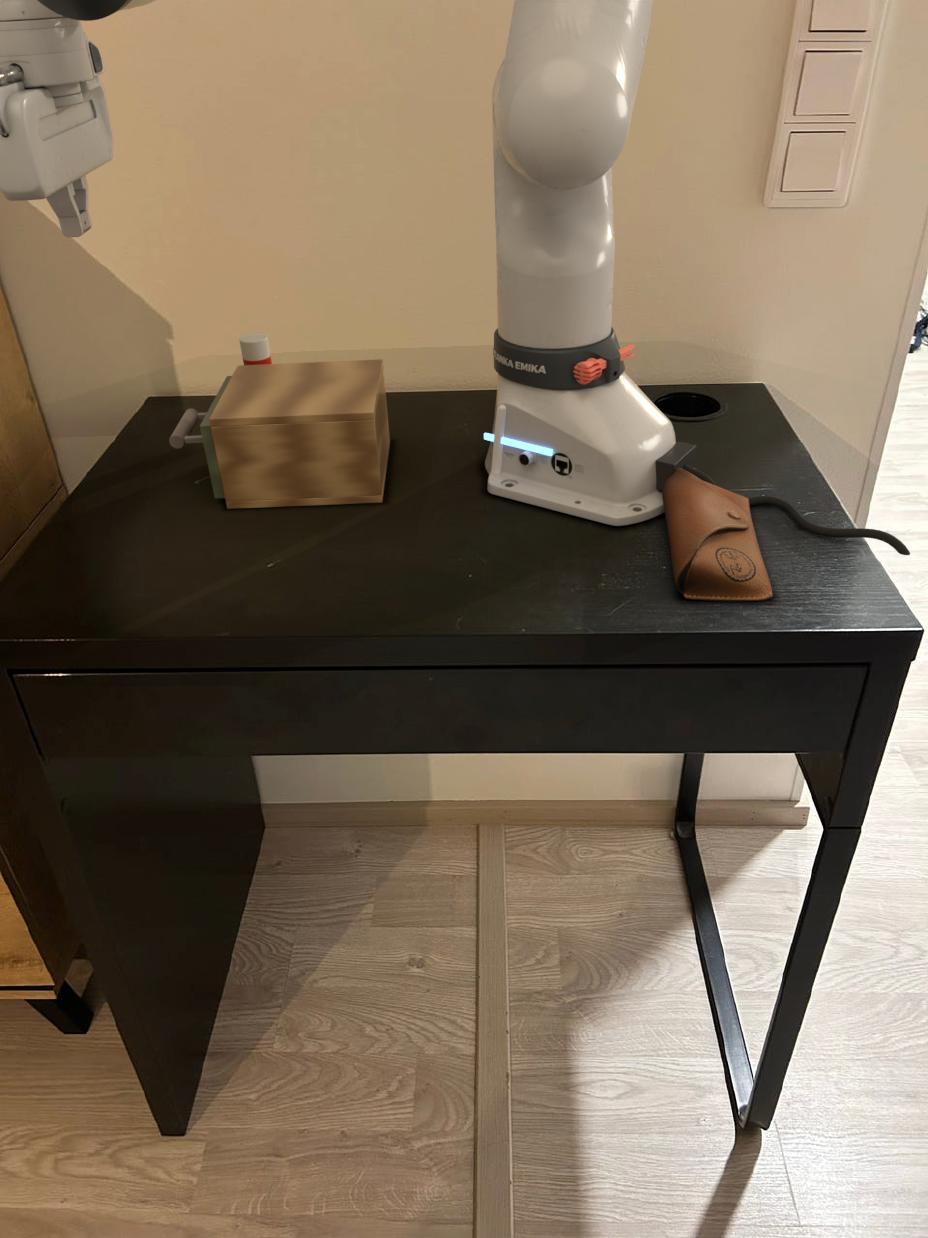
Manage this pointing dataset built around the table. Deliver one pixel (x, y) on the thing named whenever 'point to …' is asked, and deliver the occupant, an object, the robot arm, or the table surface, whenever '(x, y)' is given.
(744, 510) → the sunglasses case
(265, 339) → the glue stick
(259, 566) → the table surface
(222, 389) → the drawer
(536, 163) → the robot arm
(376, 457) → the cabinet
